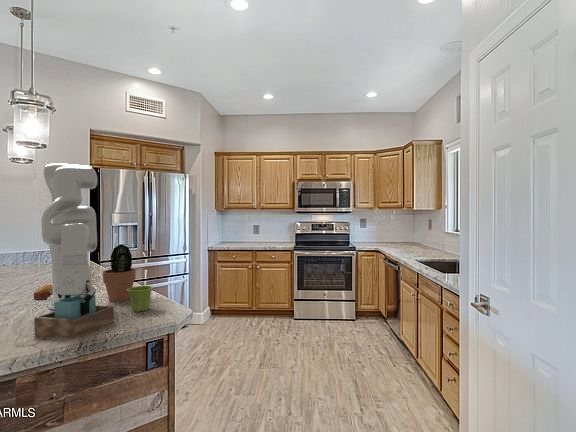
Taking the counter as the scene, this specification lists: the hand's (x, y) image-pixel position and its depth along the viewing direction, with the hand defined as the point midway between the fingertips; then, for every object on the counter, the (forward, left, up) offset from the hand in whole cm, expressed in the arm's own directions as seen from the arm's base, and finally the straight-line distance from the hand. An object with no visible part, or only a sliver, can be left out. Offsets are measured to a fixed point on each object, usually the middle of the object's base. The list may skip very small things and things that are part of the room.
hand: (76, 313), depth 115 cm
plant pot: (+7, +24, -5) cm, 26 cm away
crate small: (0, 0, -1) cm, 1 cm away
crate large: (0, 0, -6) cm, 6 cm away
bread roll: (-52, +36, -6) cm, 64 cm away
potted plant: (-14, +38, -5) cm, 41 cm away
